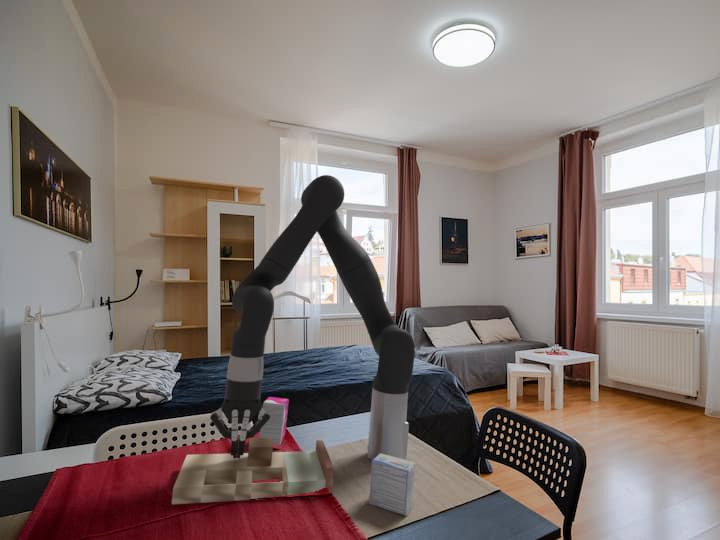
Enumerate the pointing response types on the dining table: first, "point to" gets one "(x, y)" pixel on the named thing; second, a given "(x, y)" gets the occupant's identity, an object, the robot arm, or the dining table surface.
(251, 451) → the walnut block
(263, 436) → the supplement box
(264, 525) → the dining table surface
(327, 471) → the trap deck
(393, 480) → the medicine box
